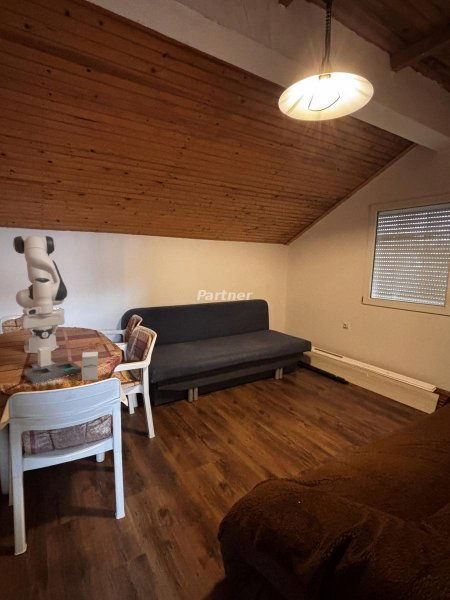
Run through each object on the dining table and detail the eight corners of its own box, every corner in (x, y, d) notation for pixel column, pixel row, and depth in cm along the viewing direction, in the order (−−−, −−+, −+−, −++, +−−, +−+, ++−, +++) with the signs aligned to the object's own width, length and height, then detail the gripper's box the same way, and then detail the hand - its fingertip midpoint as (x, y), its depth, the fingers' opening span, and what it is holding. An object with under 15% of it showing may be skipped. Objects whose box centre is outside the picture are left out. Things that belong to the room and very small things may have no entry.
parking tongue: (31, 366, 161) (31, 364, 161) (51, 362, 168) (51, 360, 168) (36, 371, 155) (36, 369, 155) (57, 367, 162) (57, 364, 162)
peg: (37, 364, 161) (37, 348, 160) (48, 362, 165) (47, 346, 164) (40, 367, 158) (40, 350, 157) (51, 364, 161) (50, 348, 160)
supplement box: (81, 381, 146) (81, 356, 144) (82, 375, 153) (82, 352, 151) (97, 379, 149) (98, 355, 147) (97, 374, 156) (97, 351, 154)
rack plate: (24, 375, 149) (24, 369, 148) (70, 365, 165) (70, 360, 164) (33, 384, 139) (32, 378, 139) (81, 373, 156) (81, 367, 155)
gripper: (62, 306, 167) (62, 330, 169) (19, 309, 152) (20, 336, 154) (66, 308, 163) (66, 333, 164) (22, 311, 148) (23, 338, 149)
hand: (43, 334), depth 159 cm, fingers open, 8 cm apart
